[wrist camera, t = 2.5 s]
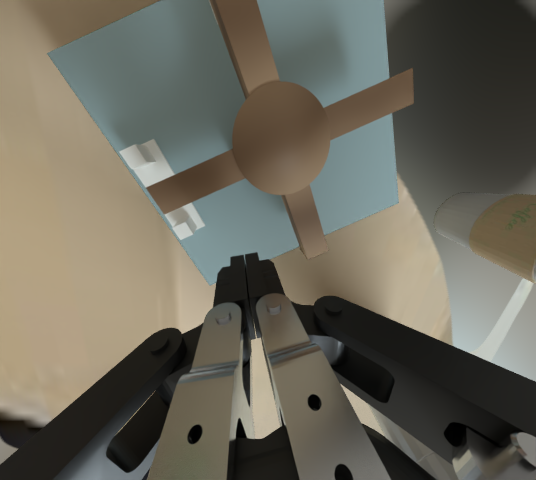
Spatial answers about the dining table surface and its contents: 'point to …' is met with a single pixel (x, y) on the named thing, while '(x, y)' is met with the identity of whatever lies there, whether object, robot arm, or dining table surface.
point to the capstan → (278, 129)
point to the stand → (235, 113)
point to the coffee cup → (493, 228)
